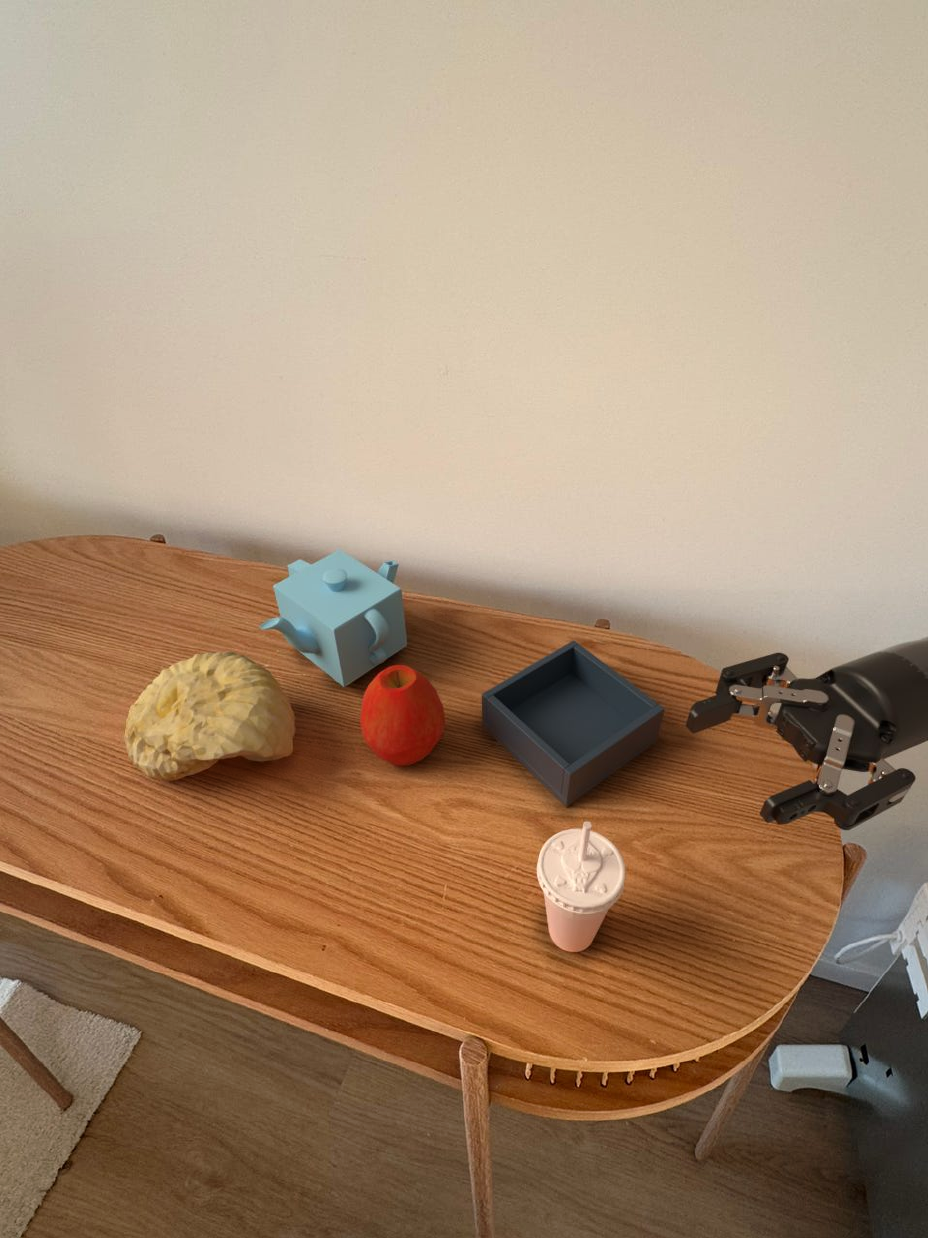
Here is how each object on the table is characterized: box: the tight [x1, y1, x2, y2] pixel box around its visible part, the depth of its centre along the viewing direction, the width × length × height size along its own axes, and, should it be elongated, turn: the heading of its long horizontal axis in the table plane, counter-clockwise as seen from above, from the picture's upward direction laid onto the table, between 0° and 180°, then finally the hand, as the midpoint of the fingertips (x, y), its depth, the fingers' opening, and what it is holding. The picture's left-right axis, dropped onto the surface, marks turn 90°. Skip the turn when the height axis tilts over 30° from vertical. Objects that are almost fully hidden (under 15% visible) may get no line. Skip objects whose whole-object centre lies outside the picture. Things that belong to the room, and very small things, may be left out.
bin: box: [481, 639, 666, 808], centre depth 73 cm, size 13×13×5 cm
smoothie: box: [536, 821, 626, 953], centre depth 55 cm, size 6×6×14 cm
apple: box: [359, 664, 446, 767], centre depth 70 cm, size 8×8×11 cm
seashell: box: [123, 651, 296, 782], centre depth 71 cm, size 17×11×15 cm
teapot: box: [259, 549, 408, 688], centre depth 81 cm, size 16×18×11 cm
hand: (725, 764), depth 52 cm, fingers open, 8 cm apart
